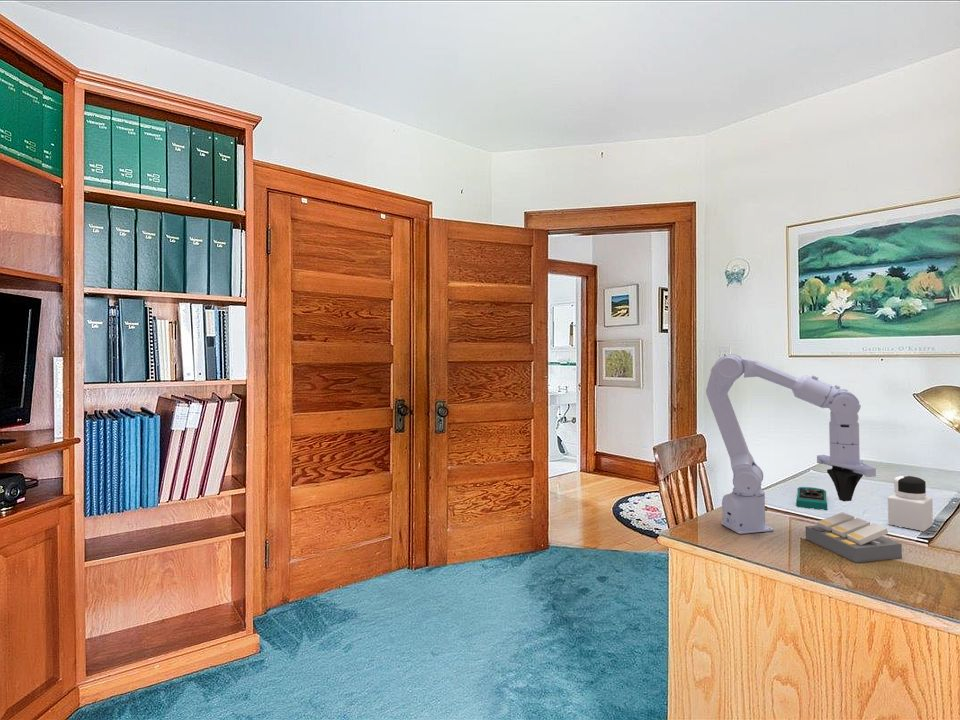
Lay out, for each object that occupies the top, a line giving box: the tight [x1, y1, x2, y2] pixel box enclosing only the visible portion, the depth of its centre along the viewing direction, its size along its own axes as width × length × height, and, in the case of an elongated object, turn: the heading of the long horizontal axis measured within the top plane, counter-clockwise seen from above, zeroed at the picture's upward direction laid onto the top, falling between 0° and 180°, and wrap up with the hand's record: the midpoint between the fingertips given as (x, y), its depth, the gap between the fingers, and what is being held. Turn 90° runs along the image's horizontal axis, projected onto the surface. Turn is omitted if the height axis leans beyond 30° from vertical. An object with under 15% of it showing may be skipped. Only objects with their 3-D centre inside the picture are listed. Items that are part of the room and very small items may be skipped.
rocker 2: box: [831, 517, 871, 538], centre depth 118 cm, size 7×3×1 cm, turn 98°
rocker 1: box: [816, 512, 855, 531], centre depth 122 cm, size 7×3×1 cm, turn 98°
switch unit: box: [805, 524, 903, 564], centre depth 118 cm, size 11×14×4 cm
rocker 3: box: [847, 523, 889, 545], centre depth 114 cm, size 7×3×1 cm, turn 98°
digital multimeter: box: [795, 486, 828, 511], centre depth 152 cm, size 7×15×3 cm, turn 147°
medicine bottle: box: [887, 475, 934, 533], centre depth 130 cm, size 7×7×12 cm
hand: (845, 500), depth 122 cm, fingers closed
